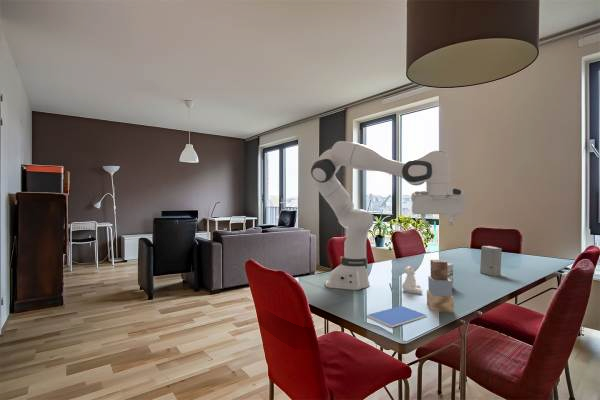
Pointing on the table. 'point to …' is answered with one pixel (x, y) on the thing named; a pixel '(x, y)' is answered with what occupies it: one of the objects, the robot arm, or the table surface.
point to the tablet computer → (396, 316)
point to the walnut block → (439, 269)
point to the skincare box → (490, 260)
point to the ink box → (450, 272)
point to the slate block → (440, 287)
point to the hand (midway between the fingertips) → (438, 225)
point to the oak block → (440, 303)
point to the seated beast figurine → (411, 282)
